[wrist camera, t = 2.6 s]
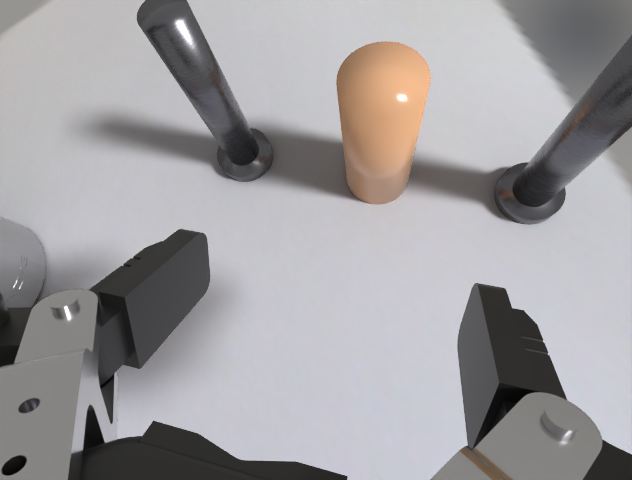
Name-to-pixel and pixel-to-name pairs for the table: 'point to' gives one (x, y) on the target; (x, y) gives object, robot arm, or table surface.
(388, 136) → the canister
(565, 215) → the table surface
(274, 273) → the table surface
